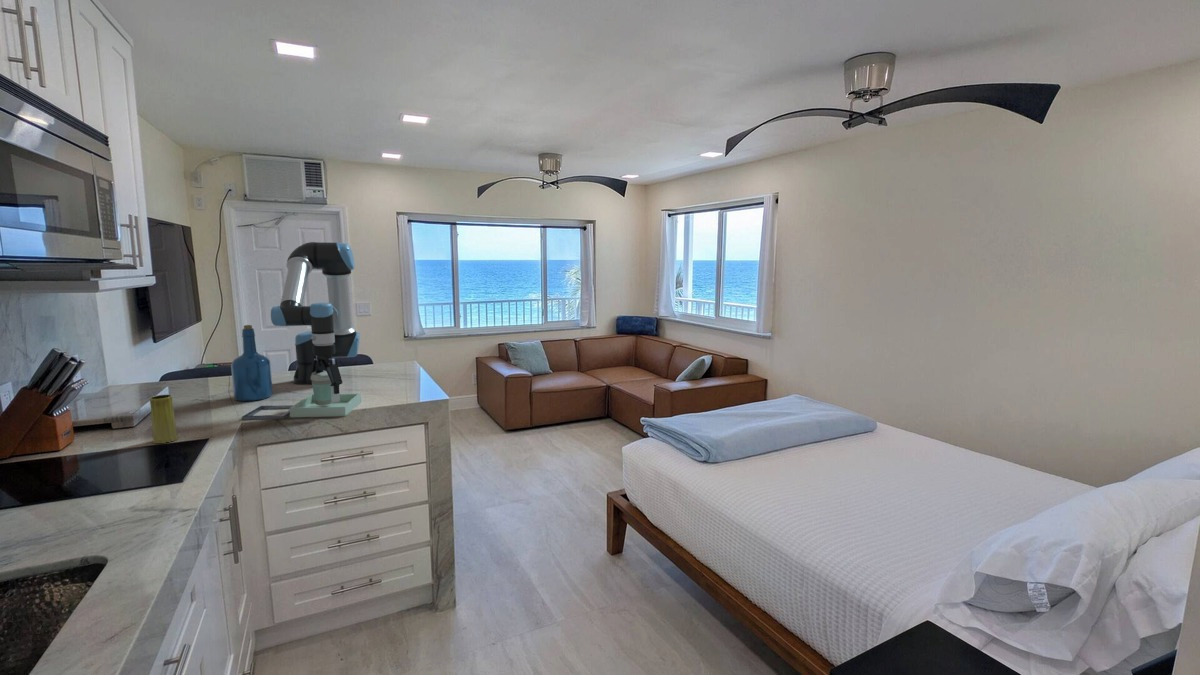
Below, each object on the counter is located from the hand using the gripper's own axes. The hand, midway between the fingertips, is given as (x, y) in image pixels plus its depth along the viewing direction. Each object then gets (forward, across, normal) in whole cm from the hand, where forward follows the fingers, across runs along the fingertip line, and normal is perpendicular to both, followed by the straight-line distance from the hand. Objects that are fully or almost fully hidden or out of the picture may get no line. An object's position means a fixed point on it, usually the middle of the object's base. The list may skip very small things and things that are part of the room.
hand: (327, 398), depth 197 cm
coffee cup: (+2, -3, 0) cm, 4 cm away
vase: (+4, -4, -48) cm, 48 cm away
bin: (+4, 0, 0) cm, 4 cm away
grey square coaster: (+4, -10, -16) cm, 19 cm away
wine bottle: (+4, -38, -11) cm, 40 cm away
